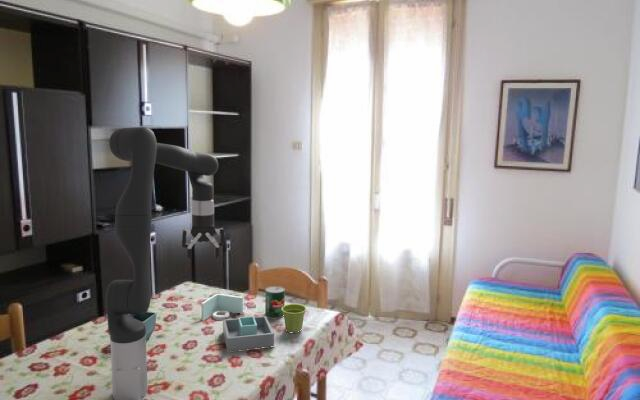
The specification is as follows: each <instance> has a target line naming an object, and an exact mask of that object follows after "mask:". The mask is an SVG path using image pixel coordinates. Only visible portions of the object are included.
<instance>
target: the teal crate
mask: <svg viewBox="0 0 640 400" xmlns="http://www.w3.org/2000/svg"><path fill="white" fill-rule="evenodd" d="M254 317H255V316H254V315H252V316H240V317H239V316H238V333H239V336H247V335H256V334H257V324H256V321H255V318H254Z"/></svg>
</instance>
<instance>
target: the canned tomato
mask: <svg viewBox="0 0 640 400" xmlns="http://www.w3.org/2000/svg"><path fill="white" fill-rule="evenodd" d="M285 291H286V288H285V287H283V286H280V285H279V286H278V285H272V286H268V287H266V288H265V294H264V295H265V298H264V299H265V308H264V310H265V311H264V314H265V315H264V316H266V317H267V318H268V317H269V318H268V319H272V318H277V319H279V318H278V317H281V318H283V317H284V316H283V315H284V314H283V311H282V307H283V306H285V295H286V292H285ZM282 316H283V317H282Z"/></svg>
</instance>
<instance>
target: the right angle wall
mask: <svg viewBox="0 0 640 400" xmlns="http://www.w3.org/2000/svg"><path fill="white" fill-rule="evenodd" d="M231 312H232V314H237V313H240V315H243V314H242V313H244V297H243V296H237V295H230V294H223V293H216V294H214V295H212V296H211V297H209V298H208V299H206V300H205V301H203V302H201V321H205V320H206V319H208V318H209V317H211V316H212V317H211V318H212V319H213V320H215V321H223V320H226V319H229V318H228V317H230V316H231V315H230V313H231Z"/></svg>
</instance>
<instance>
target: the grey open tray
mask: <svg viewBox="0 0 640 400" xmlns="http://www.w3.org/2000/svg"><path fill="white" fill-rule="evenodd" d="M238 318H239V317H238ZM238 318H228V319H223V320H222V323H223V324H222V335H223V338H224V342H225V347H226V348H225V349H226V352H227V353H233V352H232V351H236V352H240V351H239V350H245V351H248V350H247V349H253V350H256V349H255V348H262V347H271V346H274V347H275V333H274V330H273V328H272V326H271V324H270V322H269V320H268V317H266V316H265V315H262V316H261V315H260V316H254V318H255V321H256V324H257V334H256V335H247V336H239V333H238ZM271 348H272V347H271ZM262 349H263V348H262Z"/></svg>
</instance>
